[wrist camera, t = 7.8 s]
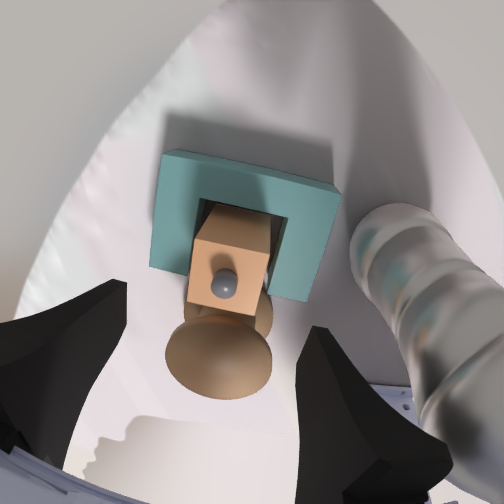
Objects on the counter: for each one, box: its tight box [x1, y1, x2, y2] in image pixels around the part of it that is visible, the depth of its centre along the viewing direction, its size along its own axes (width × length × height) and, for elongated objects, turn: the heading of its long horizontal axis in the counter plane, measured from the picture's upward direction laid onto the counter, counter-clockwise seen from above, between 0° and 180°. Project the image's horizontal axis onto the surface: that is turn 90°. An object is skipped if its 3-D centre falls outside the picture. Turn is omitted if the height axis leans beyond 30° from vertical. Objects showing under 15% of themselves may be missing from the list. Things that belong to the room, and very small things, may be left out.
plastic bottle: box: [349, 203, 504, 504], centre depth 11 cm, size 6×7×20 cm
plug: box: [187, 204, 271, 316], centre depth 18 cm, size 4×4×7 cm
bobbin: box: [165, 288, 273, 400], centre depth 21 cm, size 6×6×6 cm
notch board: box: [149, 149, 342, 302], centre depth 19 cm, size 10×7×2 cm
